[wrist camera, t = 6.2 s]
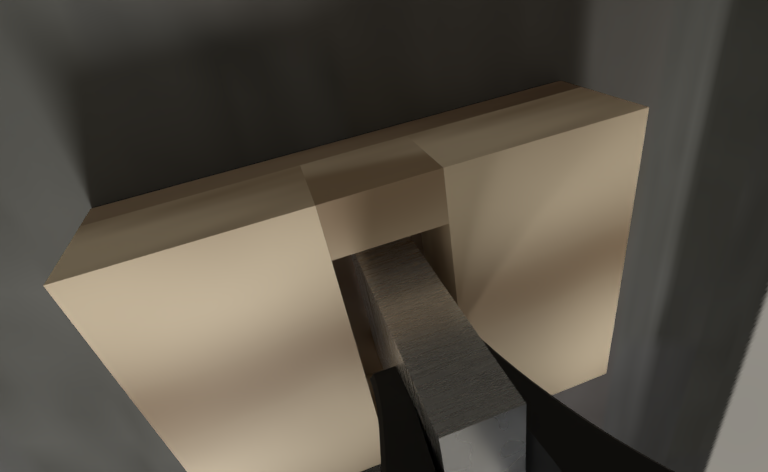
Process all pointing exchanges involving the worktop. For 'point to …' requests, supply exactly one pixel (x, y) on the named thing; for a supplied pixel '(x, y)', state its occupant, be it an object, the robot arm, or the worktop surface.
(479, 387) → the silver rectangular block
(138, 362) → the slotted tan block
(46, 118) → the worktop surface
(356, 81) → the worktop surface
